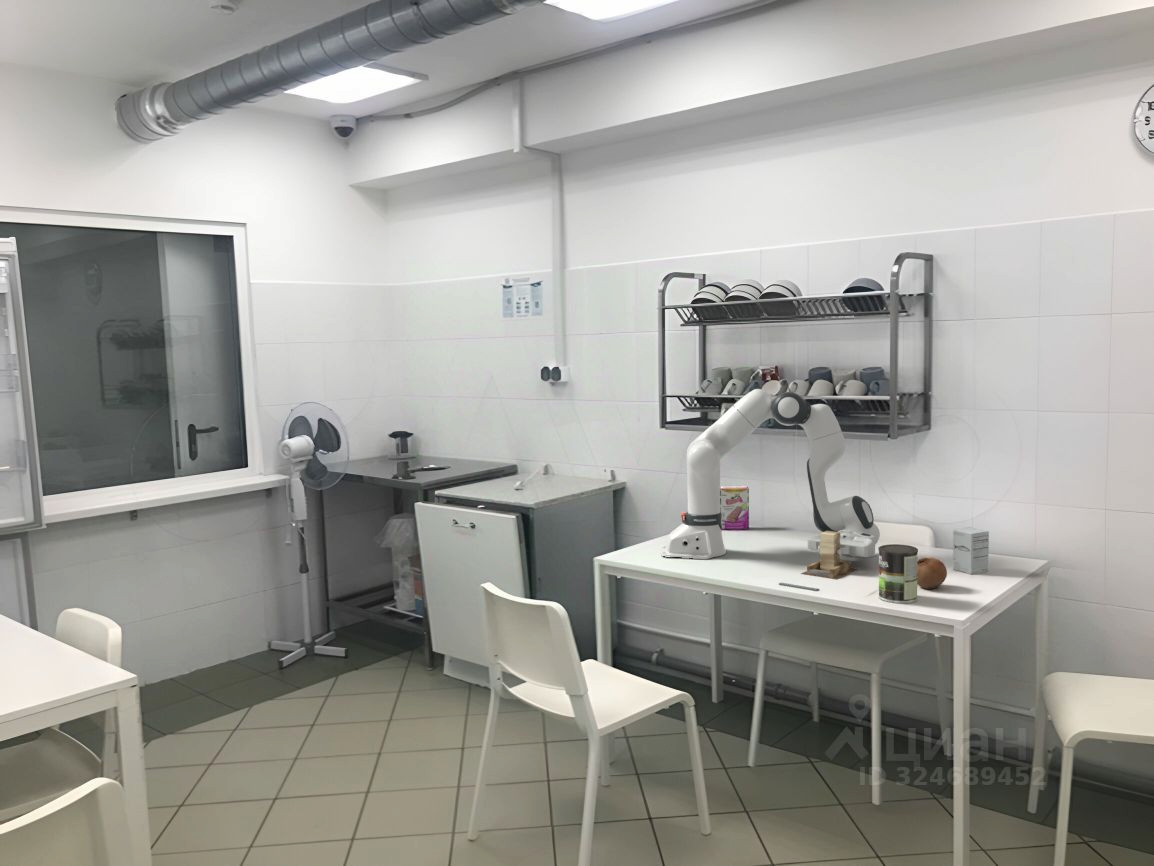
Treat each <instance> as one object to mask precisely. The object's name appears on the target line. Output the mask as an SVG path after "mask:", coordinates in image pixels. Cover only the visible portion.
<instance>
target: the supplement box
mask: <svg viewBox="0 0 1154 866" xmlns="http://www.w3.org/2000/svg"><path fill="white" fill-rule="evenodd" d="M952 534H953V538H952V548H953V549H952V569H953V570H954V571H955V570H956V571H959V572H963V573H967V574H969V575H976V574H980V573H985V572H989V552H990V551H989V550H990V549H989V548H990V547H989V545H990V543H989V542H990V541H989V539H990V536H989V535H990V531H988V530H984V529H979V528H975V527H972V526H971V527H970V526H969V527H962V528H955V529H953V533H952Z"/></svg>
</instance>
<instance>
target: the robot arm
mask: <svg viewBox="0 0 1154 866" xmlns="http://www.w3.org/2000/svg"><path fill="white" fill-rule="evenodd" d="M769 419H771V420H773V421H776V422H778V424H780V425H783V426H788V427H790V426H791V427H792V426H795V425H798V426H800V427H801V428H802V429H803V431H804V432H805V434H806V437H807V441H808V443H809V448H810V456H809V458H808V460H807V461H806V472H807V479H808V484H809V491H810V496H811V503H812V507H813V509H812V510H813V512H812V513H813V517H812V518H813V523H814V525H815V527H816V529H817V530H819V531H820V532H821V533H822V532H825V531H833V532H840V548H837V549H836V554H837V555H840V556H843V557H845V558H852V557H859V558H871V557H874V556H876V544H878V541H879V540H880V536H881V533H880V532H881V531H880V529H879V527H878V525H877V524H875V522H874V521H875V520H874V513H873V511H872V508H871V506H870V504H869V503H868V501H866V499H864V498H862V497H860V495H859V496H858V495H852V496H850V497H845V498H842V499H840V500H836V501H833V502H830V501H829V499H828V494H827V487H826V481H825V477H826V474H827V472H828V471H829V469H830V468H832V467H833V466H834V465H835V464H836V463H837V462H839V460H840V459H842V457H843V455H844V454H845V451H846V441H845V437H844V434H843V432H842V429H841V426H840V423H839V421H838V419H837V417H836V415H835V414H834V412H833V410H832V408H831V407H830V406H829V405H828V404H824V403H817V404H813V405H811V404H810V403H809V402H807V401H806V400H805V399H804V398H803V397H802V396H801V395H799V394H797V393H796V392H793V391H784V392H782V393H779V395H778V394H777V396H772V395H771V394H770V393H769V392H767V391H766V390H764V389H761V388H755V389H753V390H751V391H749V392H748V393H747V394H745V395H744V396H742V397H741V398H740V399H738V400H737V401H736V402H735V403H734V404H733V405H732V406H731V407H729V409H728V410H726V412H724V413H723V415H721V416H720V417H719V418H718V419H717V420H716V421H715V422H714V423H713V424H711V425H710V426H709V427H708V428H707V429H705V431H703V432H702V433H700V435H698V436H697V437H696V438H695V439H694V440H693V441H691V443H690V444H689V445H688V447H687V450H686V471H687V472H686V481H687V482H686V483H687V484H686V485H687V486H686V489H687V492H686V493H687V494H686V495H687V512H686V511H682V512H681V513H680V517H681V521H682V523H681V524H680V525H678V527H676V528H674V529H673V530H672V531H671V532H670V533H669V534H668V536H667V538H666V542H665V546H663V547H661V548H660V551H659V554H660V553H661V554H662V555H663V556H670V557H682V558H681V559H689V558H693V560H709V559H711V558H716V557H721V556H724V555H726V553H727V551H726V549H725V543H724V539H723V530H721V528H722V514H721V512H720V486H721V460H722V459H723V458H724V457H725V456H727V455H728V454H729V453H730V452H732V451H733V450H734V449H735V448H737V447H738V446H739V445H741V444H742V443H743V441H745V440H746V439H747V438H748V437H749V436H750V435H751V434H753V433H754V431H756V429H757V428H759V427H760V425H762V424H763V423H764V422H765V421H766V420H769ZM807 548H808V550H810V551H815V552H816V551H817V552H818V553H820V535H816V536H812V537H808V538H807ZM663 556H662V557H663Z"/></svg>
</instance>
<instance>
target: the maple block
mask: <svg viewBox="0 0 1154 866" xmlns="http://www.w3.org/2000/svg"><path fill="white" fill-rule="evenodd" d="M819 536H820V552H819V561H820V570H822V571H829V572H830V569H832V568H834V567H836V566H838V565H840V564H841V561H842V559H841V555H837V554H836V549H837V548H840V532H839V531H838V532H833V531H825V532H822V531H821V532H820V533H819Z"/></svg>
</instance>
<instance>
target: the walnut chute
mask: <svg viewBox="0 0 1154 866" xmlns="http://www.w3.org/2000/svg"><path fill="white" fill-rule="evenodd" d="M858 570H859V568H853V567H851V561H846V560H841V564H840V565H838V566H836V567H834V568H832V569H830V572H829V571H822V570H820V560H818V561H815V562H813V563H811V564H808V565H806V571H803V572H800V575H804V576H805V575H806V576H810V577H811V576H812V577H817V578H825V579H830V580H831V579H832V580H839V579H842V578H844V577H846V576H847V575H850V574H852V573H854V572H856V571H858Z"/></svg>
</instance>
